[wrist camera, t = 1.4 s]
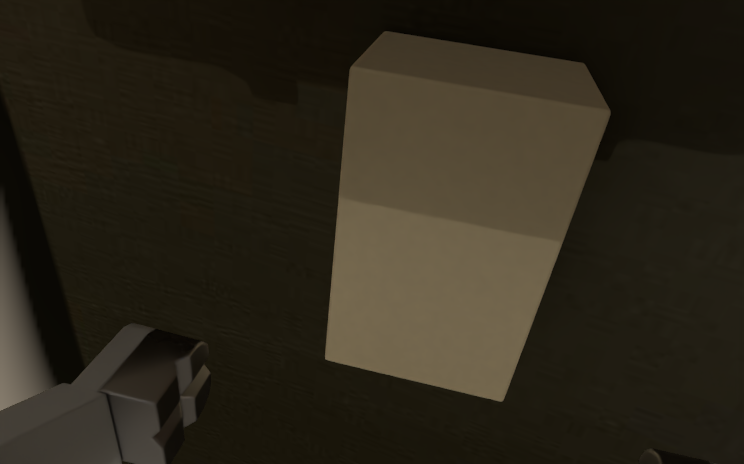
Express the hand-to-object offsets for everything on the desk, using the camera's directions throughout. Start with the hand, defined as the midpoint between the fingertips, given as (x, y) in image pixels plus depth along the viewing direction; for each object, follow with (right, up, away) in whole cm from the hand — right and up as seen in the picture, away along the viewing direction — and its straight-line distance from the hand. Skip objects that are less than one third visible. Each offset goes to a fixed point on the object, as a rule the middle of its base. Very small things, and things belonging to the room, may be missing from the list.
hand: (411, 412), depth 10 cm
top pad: (+2, +5, +7) cm, 9 cm away
